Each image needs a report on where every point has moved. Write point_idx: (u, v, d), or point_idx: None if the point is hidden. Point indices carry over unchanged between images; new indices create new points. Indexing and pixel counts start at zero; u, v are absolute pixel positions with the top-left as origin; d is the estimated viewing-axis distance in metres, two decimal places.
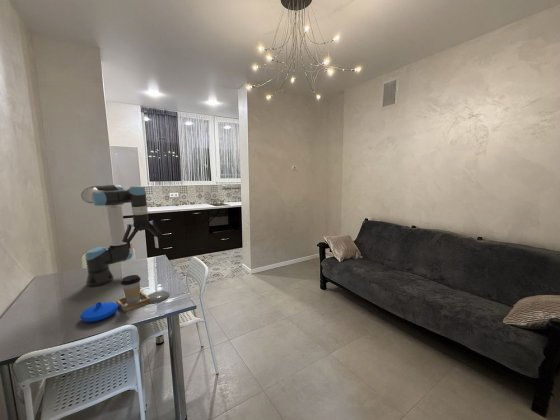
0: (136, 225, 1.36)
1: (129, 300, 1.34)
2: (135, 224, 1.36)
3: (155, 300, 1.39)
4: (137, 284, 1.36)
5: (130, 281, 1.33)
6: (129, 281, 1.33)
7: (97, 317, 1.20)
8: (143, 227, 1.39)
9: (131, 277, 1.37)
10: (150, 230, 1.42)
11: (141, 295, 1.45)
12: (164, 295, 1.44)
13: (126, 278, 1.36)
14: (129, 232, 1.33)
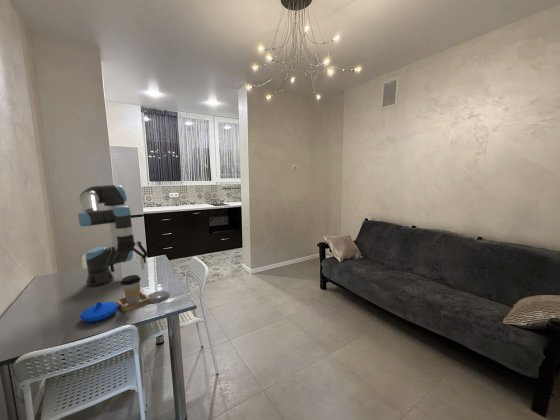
0: (120, 247, 1.30)
1: (129, 300, 1.34)
2: (119, 246, 1.30)
3: (155, 300, 1.39)
4: (137, 284, 1.36)
5: (130, 281, 1.33)
6: (129, 281, 1.33)
7: (97, 317, 1.20)
8: (128, 249, 1.33)
9: (131, 277, 1.37)
10: (135, 251, 1.36)
11: (141, 295, 1.45)
12: (164, 295, 1.44)
13: (126, 278, 1.36)
14: (113, 255, 1.28)
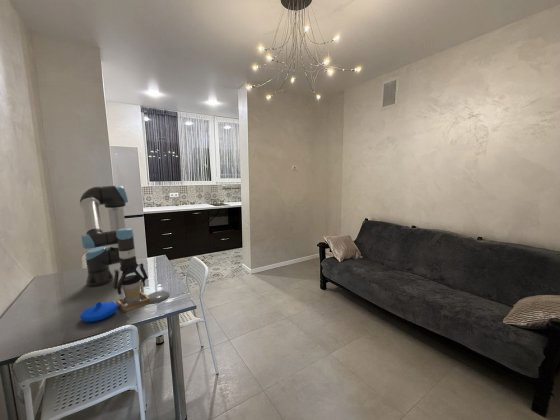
0: (123, 269, 1.32)
1: (129, 300, 1.34)
2: (122, 268, 1.32)
3: (155, 300, 1.39)
4: (137, 284, 1.36)
5: (130, 281, 1.33)
6: (129, 281, 1.33)
7: (97, 317, 1.20)
8: (131, 270, 1.35)
9: (131, 277, 1.37)
10: (136, 274, 1.37)
11: (141, 295, 1.45)
12: (164, 295, 1.44)
13: (126, 278, 1.36)
14: (117, 278, 1.30)
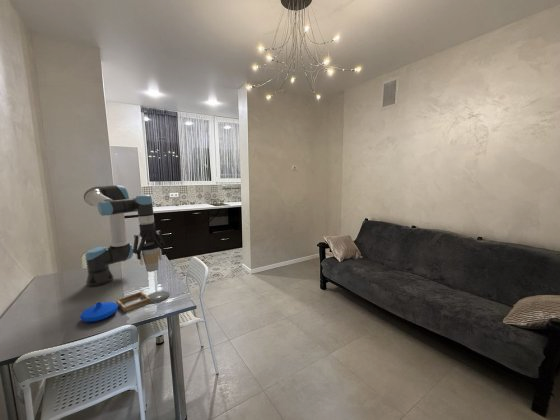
0: (143, 234, 1.35)
1: (148, 266, 1.37)
2: (141, 234, 1.34)
3: (155, 300, 1.39)
4: (156, 250, 1.38)
5: (149, 246, 1.35)
6: (148, 246, 1.35)
7: (97, 317, 1.20)
8: (150, 236, 1.37)
9: (150, 244, 1.39)
10: (155, 240, 1.40)
11: (141, 295, 1.45)
12: (164, 295, 1.44)
13: (145, 244, 1.38)
14: (137, 243, 1.33)
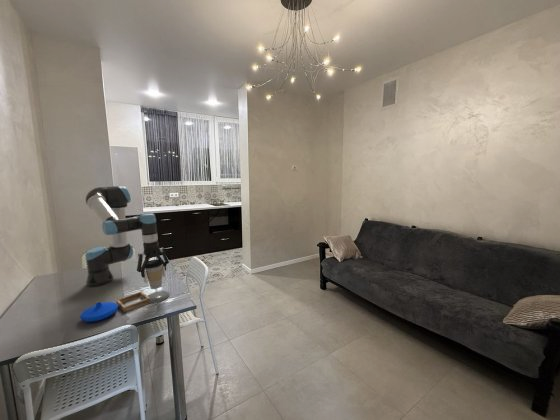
0: (147, 253, 1.37)
1: (152, 283, 1.39)
2: (145, 252, 1.36)
3: (155, 300, 1.39)
4: (159, 268, 1.40)
5: (153, 264, 1.37)
6: (152, 264, 1.37)
7: (97, 317, 1.20)
8: (153, 254, 1.39)
9: (153, 261, 1.41)
10: (159, 258, 1.42)
11: (141, 295, 1.45)
12: (164, 295, 1.44)
13: (149, 262, 1.40)
14: (141, 261, 1.35)
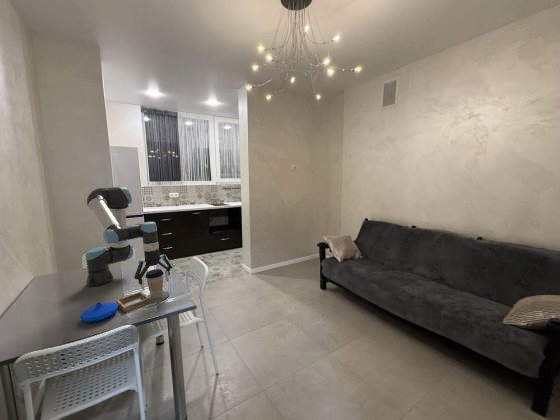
0: (147, 261, 1.37)
1: (153, 293, 1.40)
2: (146, 260, 1.37)
3: (155, 300, 1.39)
4: (161, 278, 1.41)
5: (154, 275, 1.38)
6: (153, 275, 1.38)
7: (97, 317, 1.20)
8: (154, 262, 1.40)
9: (155, 271, 1.42)
10: (161, 265, 1.43)
11: (141, 295, 1.45)
12: (164, 295, 1.44)
13: (150, 272, 1.41)
14: None
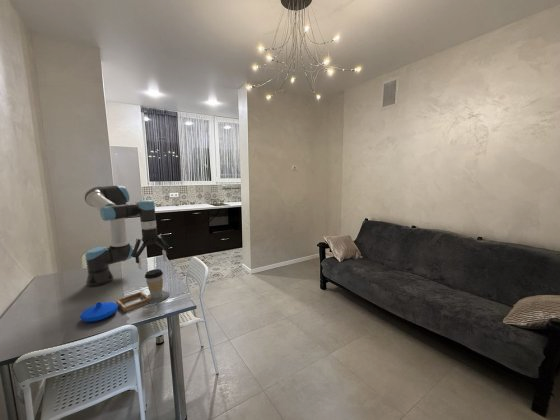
0: (145, 240, 1.36)
1: (153, 293, 1.40)
2: (144, 239, 1.35)
3: (155, 300, 1.39)
4: (160, 278, 1.41)
5: (154, 275, 1.38)
6: (153, 275, 1.38)
7: (97, 317, 1.20)
8: (152, 241, 1.38)
9: (154, 271, 1.42)
10: (158, 244, 1.41)
11: (141, 295, 1.45)
12: (164, 295, 1.44)
13: (149, 272, 1.41)
14: (138, 247, 1.33)
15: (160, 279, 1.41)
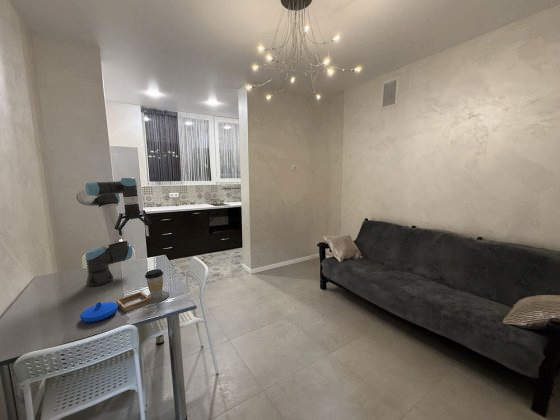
0: (127, 214, 1.46)
1: (153, 293, 1.40)
2: (126, 213, 1.46)
3: (155, 300, 1.39)
4: (160, 278, 1.41)
5: (154, 275, 1.38)
6: (153, 275, 1.38)
7: (97, 317, 1.20)
8: (134, 216, 1.49)
9: (154, 271, 1.42)
10: (141, 219, 1.52)
11: (141, 295, 1.45)
12: (164, 295, 1.44)
13: (150, 272, 1.41)
14: None
15: (160, 279, 1.41)
